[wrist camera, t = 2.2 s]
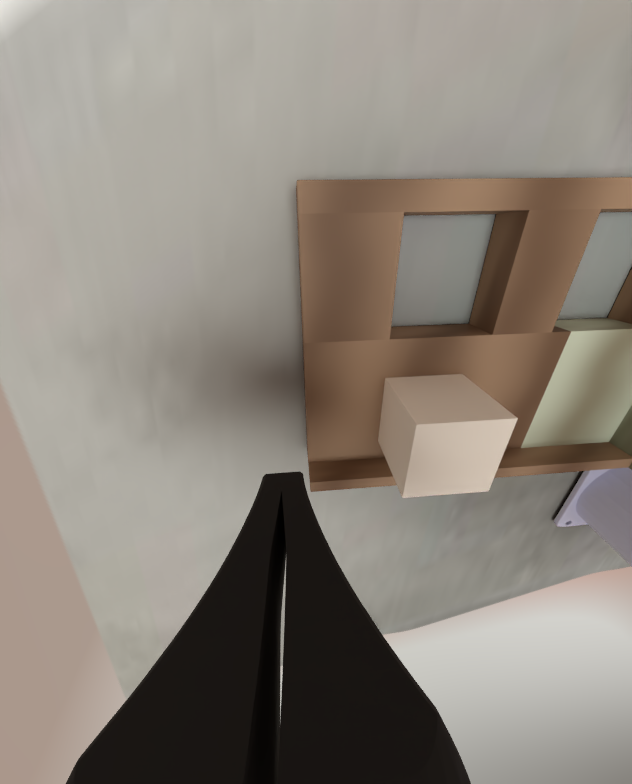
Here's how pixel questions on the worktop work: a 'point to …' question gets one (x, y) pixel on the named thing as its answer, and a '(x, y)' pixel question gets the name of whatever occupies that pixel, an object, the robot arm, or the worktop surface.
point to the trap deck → (462, 341)
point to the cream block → (442, 434)
